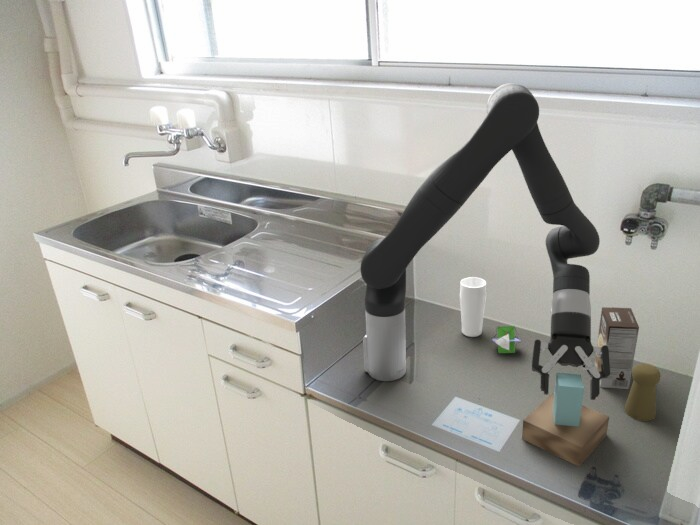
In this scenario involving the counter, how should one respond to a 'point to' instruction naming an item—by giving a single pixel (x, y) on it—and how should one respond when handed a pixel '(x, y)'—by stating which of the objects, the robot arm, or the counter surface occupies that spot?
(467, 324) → the drinking glass
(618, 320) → the coffee box
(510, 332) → the geometric puzzle
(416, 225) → the robot arm
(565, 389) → the teal block
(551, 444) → the walnut block
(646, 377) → the cork
